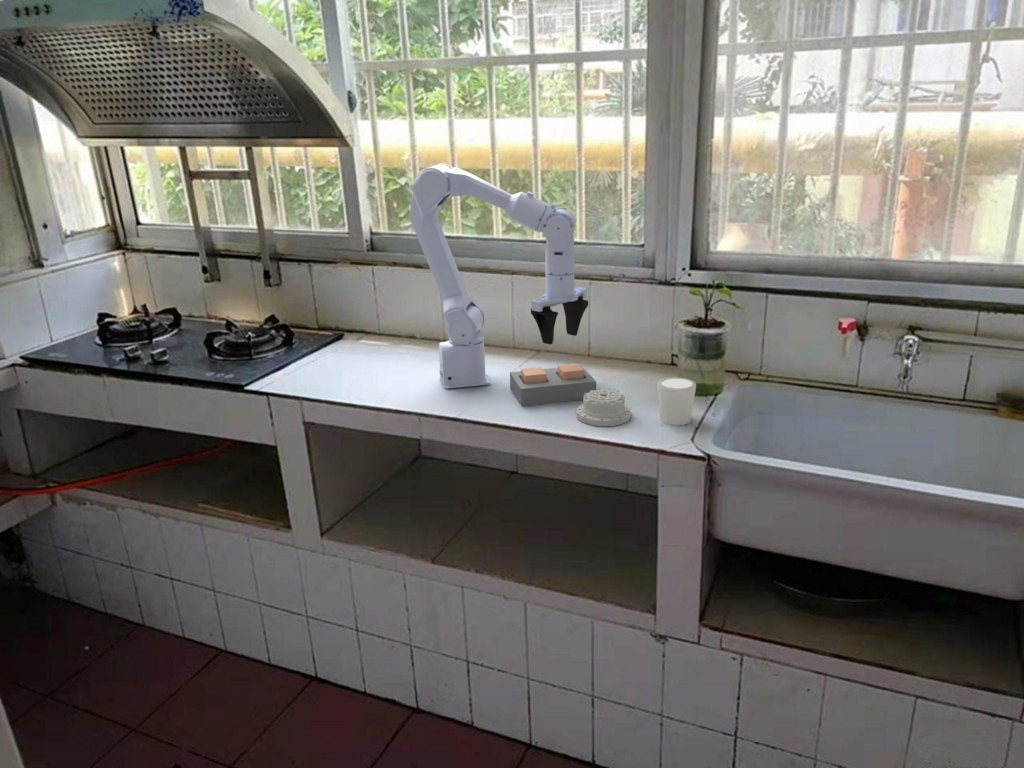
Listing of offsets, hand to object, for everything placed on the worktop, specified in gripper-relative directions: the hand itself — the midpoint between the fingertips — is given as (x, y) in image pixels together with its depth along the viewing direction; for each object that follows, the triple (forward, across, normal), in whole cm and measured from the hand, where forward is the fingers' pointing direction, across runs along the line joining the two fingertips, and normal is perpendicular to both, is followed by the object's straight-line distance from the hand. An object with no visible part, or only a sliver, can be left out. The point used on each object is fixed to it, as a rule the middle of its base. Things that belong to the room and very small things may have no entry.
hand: (559, 338), depth 161 cm
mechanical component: (+10, -8, -18) cm, 22 cm away
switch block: (+10, -5, -2) cm, 11 cm away
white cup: (+10, -1, -28) cm, 30 cm away
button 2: (+8, -2, -5) cm, 9 cm away
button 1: (+8, -8, 0) cm, 11 cm away
